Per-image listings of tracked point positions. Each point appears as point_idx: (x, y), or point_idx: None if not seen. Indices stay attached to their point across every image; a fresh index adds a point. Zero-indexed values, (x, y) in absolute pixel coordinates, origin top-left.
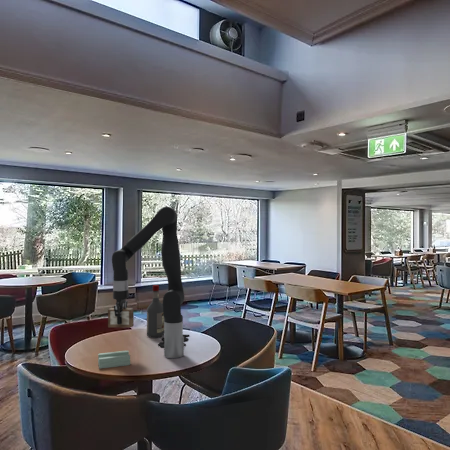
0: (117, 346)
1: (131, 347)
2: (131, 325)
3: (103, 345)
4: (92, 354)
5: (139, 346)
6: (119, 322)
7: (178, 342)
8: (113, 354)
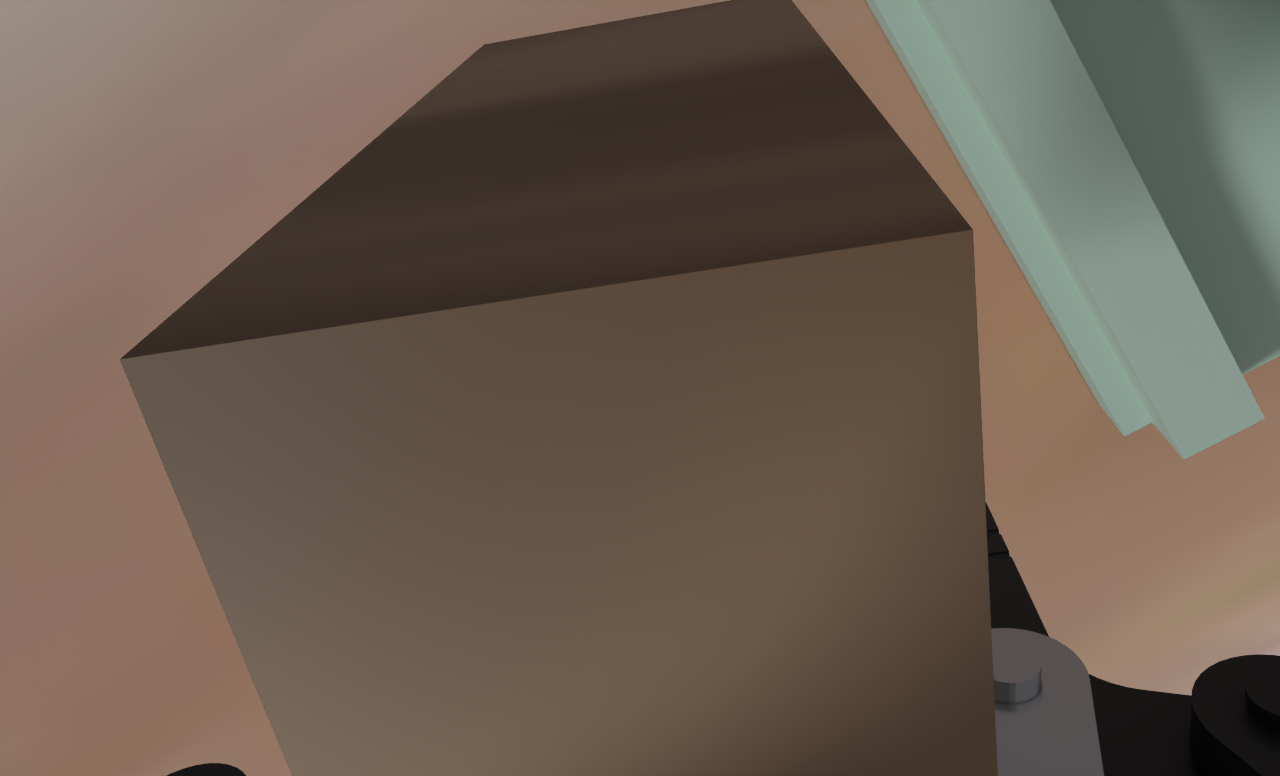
0: None
1: (222, 217)
2: (772, 2)
3: None
4: None
5: (96, 87)
6: (987, 527)
7: None
8: (1134, 173)
